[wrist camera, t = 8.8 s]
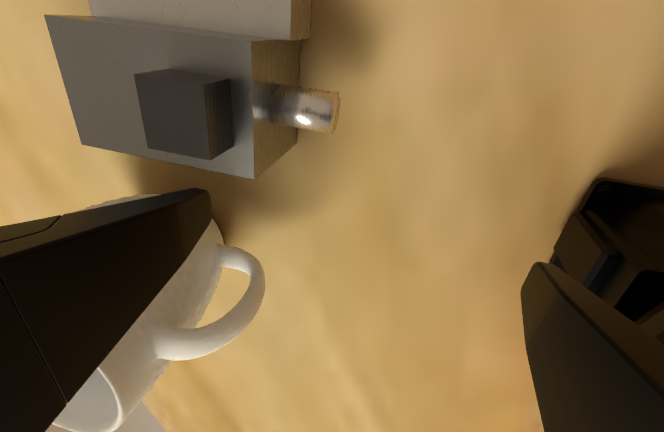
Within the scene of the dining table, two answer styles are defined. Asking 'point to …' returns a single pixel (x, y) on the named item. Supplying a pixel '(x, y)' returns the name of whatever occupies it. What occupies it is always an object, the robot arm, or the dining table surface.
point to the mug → (165, 333)
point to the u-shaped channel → (191, 80)
